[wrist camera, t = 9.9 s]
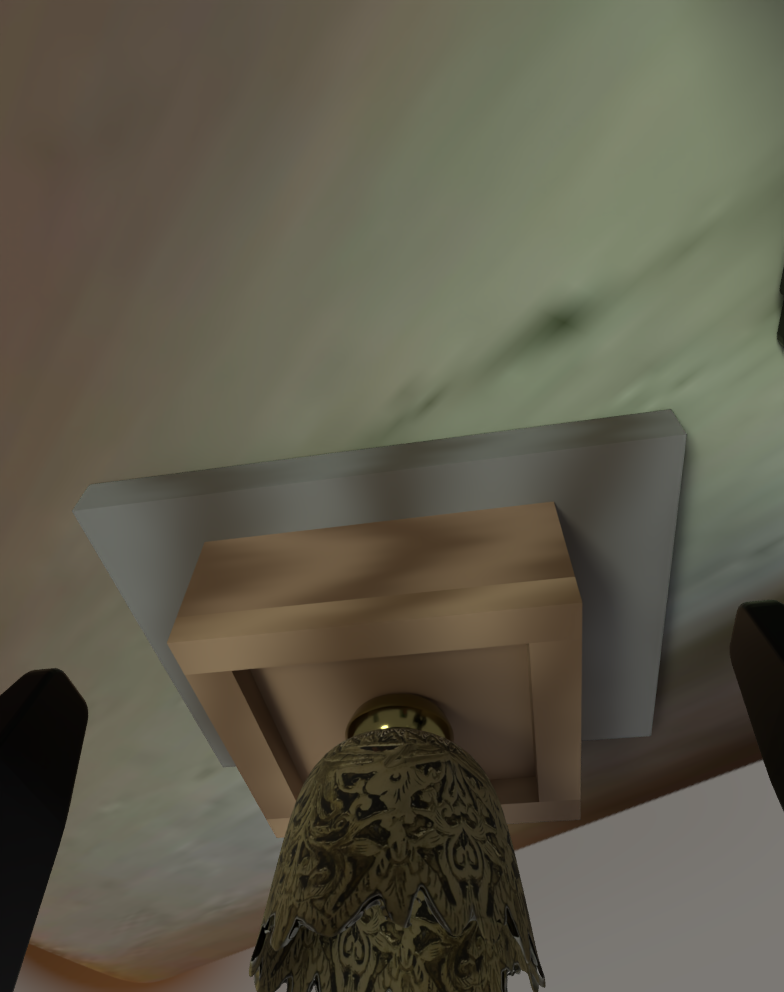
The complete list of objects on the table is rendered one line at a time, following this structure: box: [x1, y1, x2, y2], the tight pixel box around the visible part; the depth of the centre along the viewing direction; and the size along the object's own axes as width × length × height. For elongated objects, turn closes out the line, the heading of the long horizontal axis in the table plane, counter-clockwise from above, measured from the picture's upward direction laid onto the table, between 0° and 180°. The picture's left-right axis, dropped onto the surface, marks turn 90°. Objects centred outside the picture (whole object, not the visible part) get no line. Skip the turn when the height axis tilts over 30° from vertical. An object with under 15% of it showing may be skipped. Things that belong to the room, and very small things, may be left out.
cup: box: [249, 693, 545, 992], centre depth 20 cm, size 8×7×8 cm
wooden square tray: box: [72, 409, 687, 838], centre depth 25 cm, size 20×16×6 cm
